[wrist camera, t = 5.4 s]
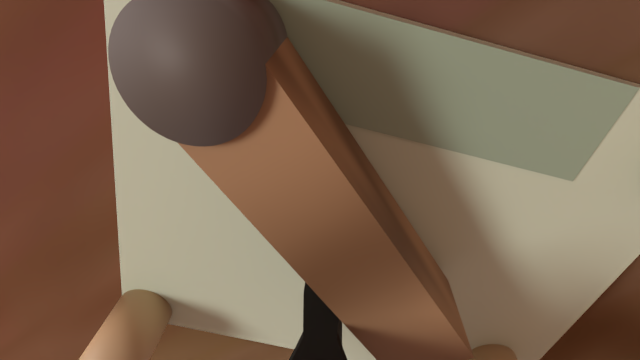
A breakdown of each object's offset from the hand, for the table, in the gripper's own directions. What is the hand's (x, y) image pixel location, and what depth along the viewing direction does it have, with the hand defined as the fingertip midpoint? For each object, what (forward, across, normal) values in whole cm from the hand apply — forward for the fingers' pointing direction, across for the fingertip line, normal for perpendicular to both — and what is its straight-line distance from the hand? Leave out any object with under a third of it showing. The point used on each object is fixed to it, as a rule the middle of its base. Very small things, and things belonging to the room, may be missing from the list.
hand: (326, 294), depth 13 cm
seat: (+2, -2, -2) cm, 3 cm away
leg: (+1, 0, -4) cm, 5 cm away
